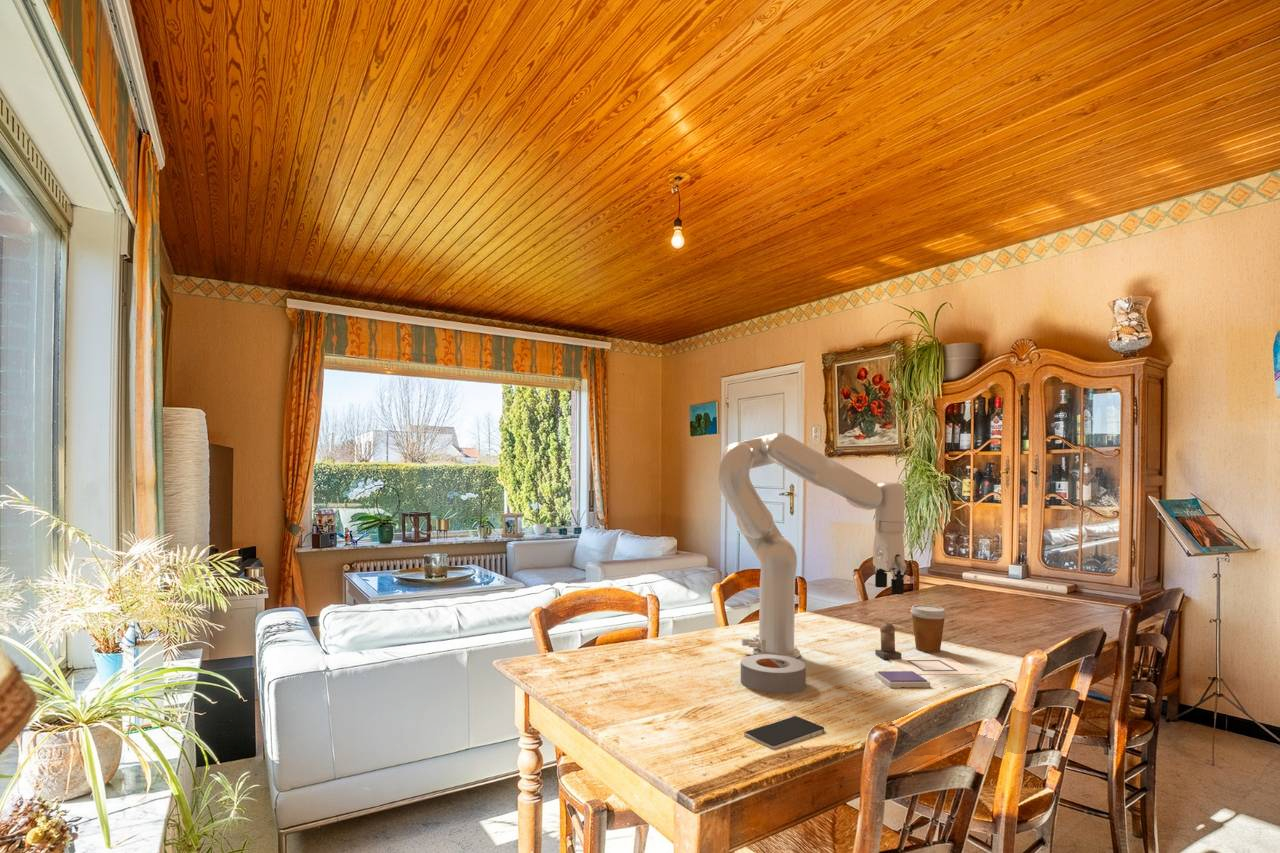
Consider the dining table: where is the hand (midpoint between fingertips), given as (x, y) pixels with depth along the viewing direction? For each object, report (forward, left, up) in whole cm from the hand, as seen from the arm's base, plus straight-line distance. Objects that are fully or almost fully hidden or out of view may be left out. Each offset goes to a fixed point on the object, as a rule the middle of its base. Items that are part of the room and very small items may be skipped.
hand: (889, 590), depth 188 cm
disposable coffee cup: (+15, +7, -18) cm, 25 cm away
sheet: (+8, -8, -18) cm, 21 cm away
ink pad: (-6, -20, -18) cm, 28 cm away
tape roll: (-38, -20, -19) cm, 47 cm away
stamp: (0, 0, -18) cm, 18 cm away
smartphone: (-44, -50, -19) cm, 69 cm away
